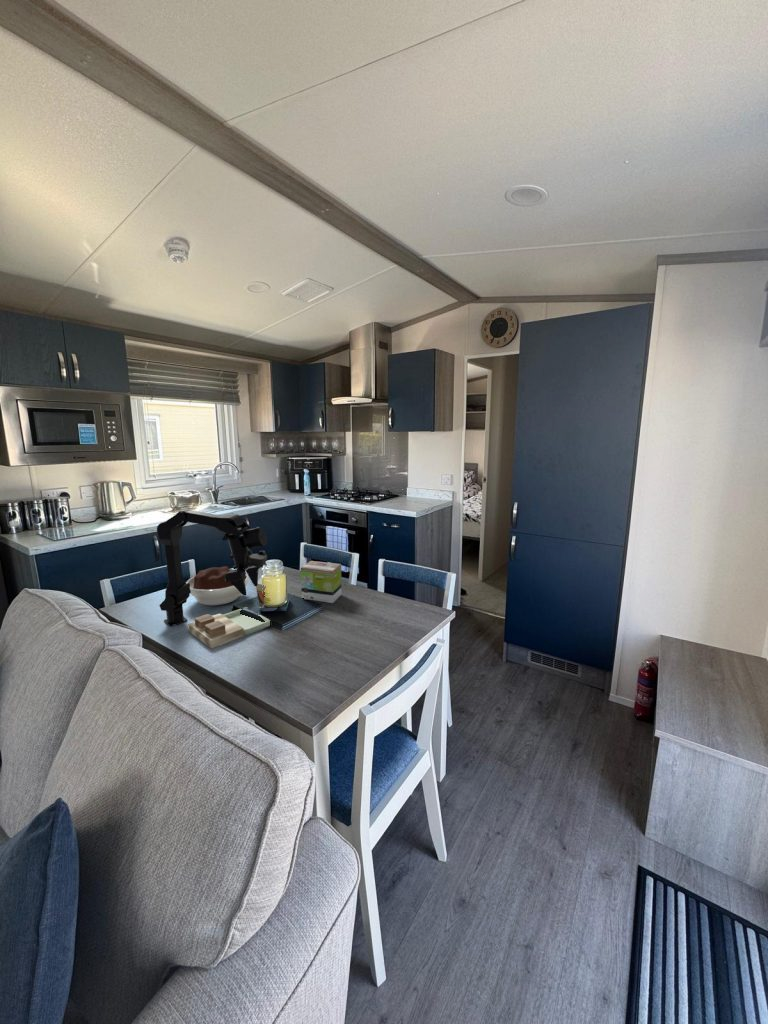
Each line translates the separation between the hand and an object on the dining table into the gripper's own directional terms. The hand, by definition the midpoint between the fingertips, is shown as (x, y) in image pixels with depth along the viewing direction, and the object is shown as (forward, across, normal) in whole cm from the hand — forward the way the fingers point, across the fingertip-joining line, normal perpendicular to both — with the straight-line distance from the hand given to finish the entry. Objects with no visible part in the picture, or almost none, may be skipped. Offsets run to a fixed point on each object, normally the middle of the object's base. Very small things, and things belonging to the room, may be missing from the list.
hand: (250, 590), depth 156 cm
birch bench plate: (+12, -6, +14) cm, 20 cm away
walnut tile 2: (+8, -10, +11) cm, 17 cm away
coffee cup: (+14, +17, +4) cm, 23 cm away
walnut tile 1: (+7, -5, +18) cm, 20 cm away
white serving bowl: (+9, +22, +28) cm, 37 cm away
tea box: (+18, +31, -14) cm, 39 cm away
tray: (+13, +4, +8) cm, 16 cm away
